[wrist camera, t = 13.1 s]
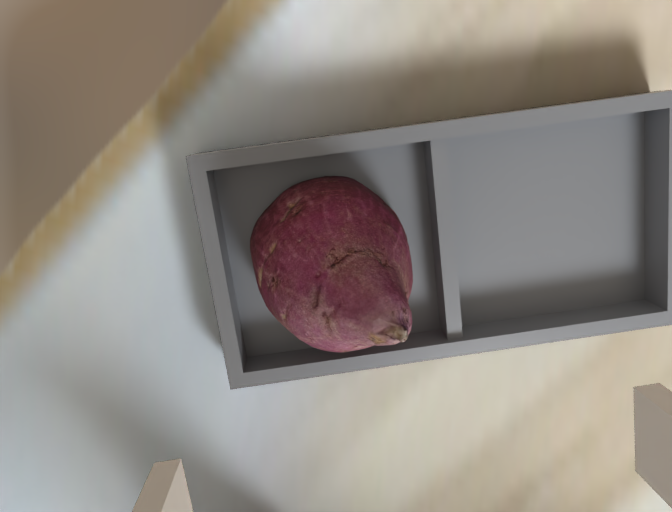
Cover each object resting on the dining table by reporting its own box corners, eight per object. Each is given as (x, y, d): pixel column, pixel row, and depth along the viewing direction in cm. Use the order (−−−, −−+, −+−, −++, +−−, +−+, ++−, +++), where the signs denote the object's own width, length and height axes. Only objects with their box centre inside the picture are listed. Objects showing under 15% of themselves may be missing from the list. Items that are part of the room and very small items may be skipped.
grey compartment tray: (649, 306, 40) (682, 323, 37) (236, 366, 39) (230, 389, 36) (650, 91, 37) (686, 88, 33) (196, 153, 36) (185, 156, 32)
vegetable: (409, 204, 40) (557, 237, 26) (358, 338, 40) (475, 441, 26) (274, 149, 36) (363, 153, 22) (219, 299, 36) (272, 395, 22)
